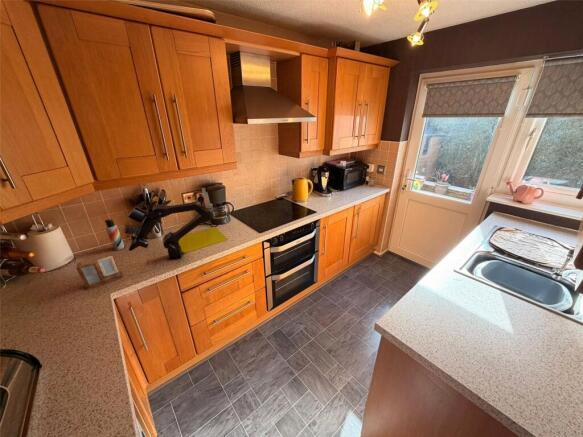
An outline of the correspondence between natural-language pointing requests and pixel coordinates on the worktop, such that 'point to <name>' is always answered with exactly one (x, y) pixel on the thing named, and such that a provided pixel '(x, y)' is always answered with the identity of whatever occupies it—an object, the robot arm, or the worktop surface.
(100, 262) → the frame
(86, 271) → the window frame
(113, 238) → the lotion bottle
